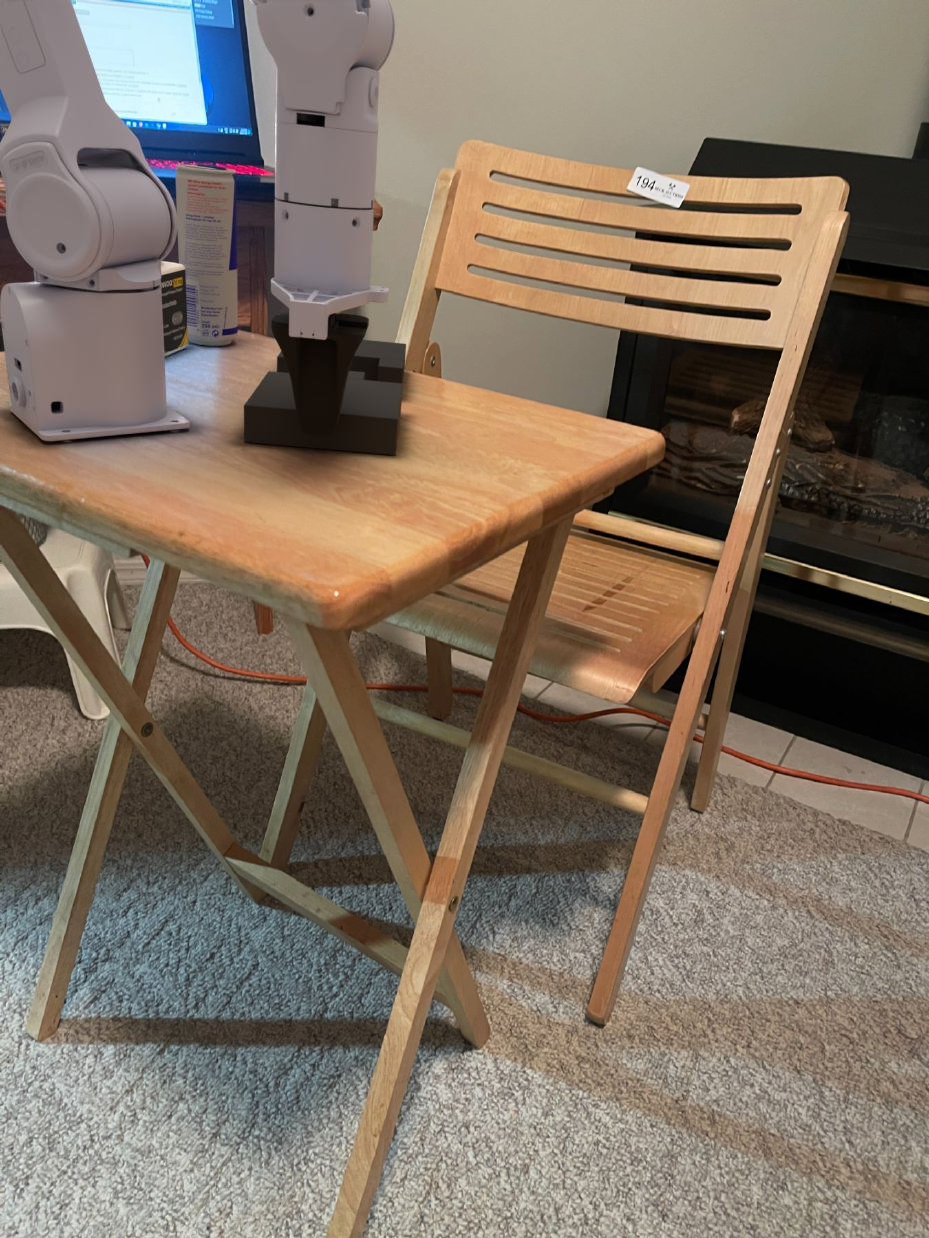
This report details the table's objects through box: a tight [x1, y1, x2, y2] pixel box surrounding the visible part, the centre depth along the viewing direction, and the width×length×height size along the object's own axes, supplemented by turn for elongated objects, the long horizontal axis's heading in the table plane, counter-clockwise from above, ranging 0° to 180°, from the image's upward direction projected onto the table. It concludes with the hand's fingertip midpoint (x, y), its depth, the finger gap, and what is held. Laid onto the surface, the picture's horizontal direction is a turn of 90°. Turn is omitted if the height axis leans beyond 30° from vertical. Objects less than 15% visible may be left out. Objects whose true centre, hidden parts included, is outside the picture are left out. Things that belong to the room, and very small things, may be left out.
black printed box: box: [160, 260, 189, 358], centre depth 79 cm, size 7×7×12 cm
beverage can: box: [175, 163, 239, 347], centre depth 85 cm, size 5×5×15 cm
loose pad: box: [243, 370, 404, 456], centre depth 67 cm, size 12×10×2 cm
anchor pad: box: [276, 339, 407, 385], centre depth 79 cm, size 10×10×2 cm
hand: (318, 432), depth 61 cm, fingers closed
